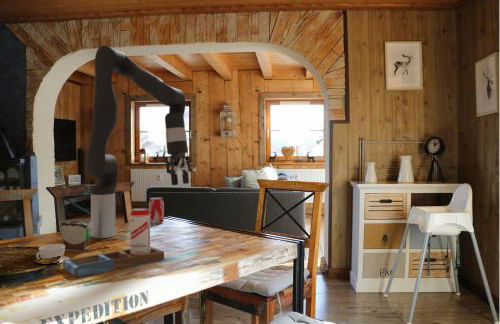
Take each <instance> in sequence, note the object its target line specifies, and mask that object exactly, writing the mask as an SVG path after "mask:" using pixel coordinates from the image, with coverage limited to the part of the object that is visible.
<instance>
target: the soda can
mask: <svg viewBox="0 0 500 324" xmlns="http://www.w3.org/2000/svg"><path fill="white" fill-rule="evenodd" d="M148 211H149V213H150V225H161V224H162V223H164V221H165V214H164V213H165V203H164V200H163V197H158V196H157V197H150V198H149V200H148Z"/></svg>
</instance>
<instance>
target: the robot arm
mask: <svg viewBox="0 0 500 324" xmlns="http://www.w3.org/2000/svg"><path fill="white" fill-rule="evenodd" d="M94 57H95V58H94V98H93V107H92V121H91V131H90V140H89V145H88V149H87V150H88V151H87V155H86V162H85V168H86V171H87V173H88V175H89V176H90V177H91V178H97V181H96V182H95V184H93V185H92V186H91V187H90V221H91V222H92V226H93V227H92V228H91V229H90V238H93V239H107V238H113V237H115V236H116V188H117V185H118V172H119V170H118V169H119V167H118V161H117V159H116V157H115V156H114V155H112V154H109V153H106V148H107V144H108V143H107V142H108V140H109V138H110V136H111V135H112V133H113V131H114V129H115V127H116V125H117V121H118V114H119V103H118V100H117V96H116V94H115V91H114V88H113V73H116V74H119V75H122V76H124V77H126V78H129V79H130V80H132V82H133V83H134V84H135V85H136V86H137V87H139V88H140V89H141V90H143V91H144V92H145V93H147V94H149V95H151V96H152V97H153V98H155V99H156V100H157V101H158V102H160V103H161V104H162V105H165V106H167V107H169V110H168V113H166V114H165V117H164V123H165V125H164V126H165V141H166V142H165V144H166V153H167V154H168V155H169V156H166V157H165V164H166V165H165V166H166V173H167V174H169V175H170V179H171V185H172V186H178V185H179V180H178V179H179V178H178V177H179V176H178V171H179V170H180V171H181V173H182V174H181V176H182V183H183V184H184V185H185V184H190V177H189V173H190V172H192V167H191V160H190V159H191V158H190V156H189V155H188V156H186V154H187V153H188V152H189V150H188V139H187V132H186V129H185V127H186V125H185V118H184V117H185V110H186V103H187V102H186V96H185V94H184V92H183V91H182V90H181V89H178V88H175V87H172V86H170V85H168V84H166V83H165V82H164V80H162V79H161V78H160V77H158V76H156V75H155V74H153V73H151V72H149V70H147V69H145V68H143V67H141V66H140V65H138V63H136V62H134V60H132V59H131V58H130V57H128V55H126V54H125V53H124V52H123V51H121V50H120V49H118V48H115V47H112V46H109V45H104V44H103V45H101V46H100V47H99V48H98V49H97V50H96V53H95V56H94Z"/></svg>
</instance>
